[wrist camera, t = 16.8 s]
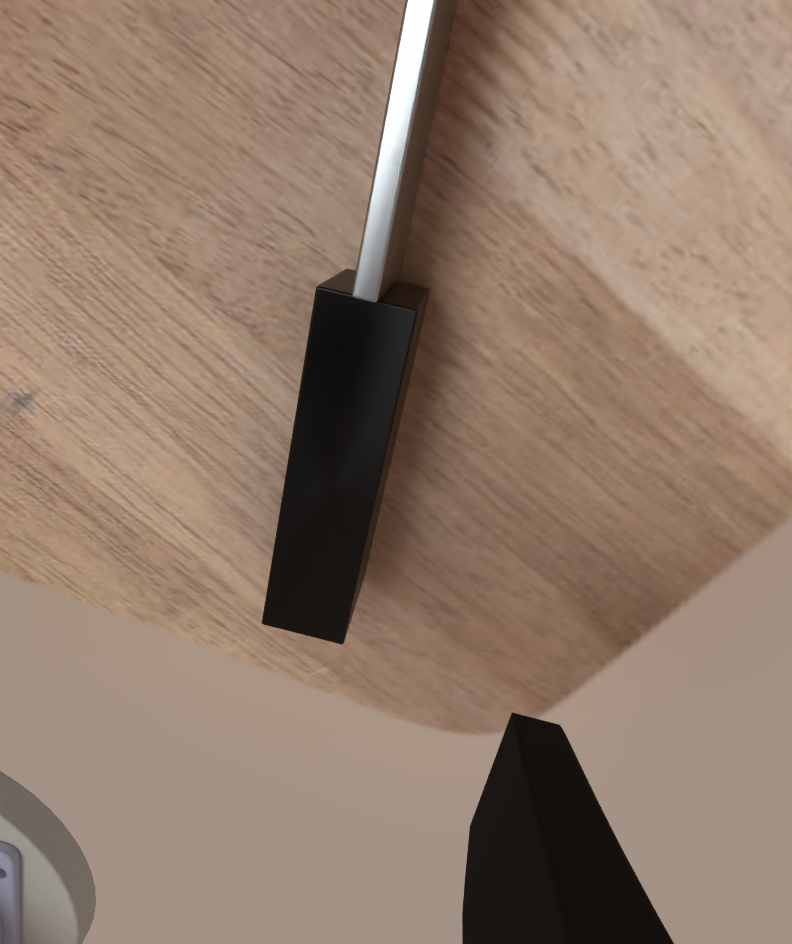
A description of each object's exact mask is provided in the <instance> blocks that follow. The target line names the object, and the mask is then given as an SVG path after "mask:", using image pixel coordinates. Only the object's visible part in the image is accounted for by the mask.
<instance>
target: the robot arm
mask: <svg viewBox="0 0 792 944" xmlns="http://www.w3.org/2000/svg"><path fill="white" fill-rule="evenodd" d="M462 913H463V915H462V917H463V920H462V921H463V944H674V943H673V941H672V939H671V938H670V936H669V934H668V932H667V931H666V929H665V927H664V925H663V924H662V922H661V920H660V918H659V917H658V915H657V913H656V911H655V909H654V908H653V906H652V904H651V902H650V900H649V898H648V896H647V894H646V893H645V891H644V889H643V887H642V885H641V884H640V882H639V880H638V878H637V876H636V874H635V872H634V870H633V869H632V867H631V865H630V863H629V861H628V859H627V858H626V856H625V854H624V852H623V850H622V848H621V846H620V844H619V842H618V840H617V838H616V836H615V834H614V832H613V831H612V829H611V827H610V825H609V823H608V821H607V819H606V817H605V815H604V813H603V811H602V809H601V807H600V805H599V803H598V801H597V799H596V797H595V795H594V792H593V790H592V788H591V786H590V784H589V782H588V780H587V778H586V776H585V774H584V772H583V770H582V768H581V766H580V764H579V762H578V759H577V757H576V755H575V753H574V751H573V749H572V747H571V745H570V743H569V741H568V739H567V737H566V735H565V733H564V731H563V729H562V728H561V726H560V725H558V724H554V723H550V722H546V721H543V720H539V719H535V718H531V717H527V716H523V715H519V714H515V713H512V714H511V717H510V719H509V722H508V725H507V728H506V730H505V733H504V736H503V738H502V741H501V744H500V747H499V749H498V752H497V755H496V757H495V760H494V763H493V766H492V768H491V771H490V774H489V776H488V779H487V782H486V784H485V787H484V790H483V793H482V795H481V798H480V801H479V803H478V806H477V809H476V812H475V814H474V817H473V820H472V822H471V825H470V832H469V843H468V854H467V864H466V875H465V887H464V900H463V912H462ZM0 944H21V899H20V856H19V852H18V851H17V849H16V848H15V847H14V846H12V845H11V844H8V843H5V842H2V841H0Z"/></svg>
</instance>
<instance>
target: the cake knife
mask: <svg viewBox="0 0 792 944" xmlns="http://www.w3.org/2000/svg"><path fill="white" fill-rule="evenodd" d="M456 3H457V0H406V1H405V7H404V12H403V17H402V23H401V28H400V34H399V39H398V45H397V50H396V56H395V61H394V66H393V72H392V77H391V83H390V88H389V94H388V99H387V105H386V110H385V115H384V121H383V126H382V132H381V137H380V143H379V148H378V154H377V159H376V165H375V170H374V175H373V181H372V186H371V192H370V197H369V203H368V208H367V214H366V219H365V224H364V230H363V235H362V241H361V246H360V252H359V257H358V263H357V268H356V271H354V270H350V269H346V270H344V271H342V272H340V273H339V274H337V275H335V276H334V277H332V278H330V279H329V280H327V281H325V282H323V283H322V284H320V285H318V286H317V287H316V292H315V298H314V304H313V311H312V317H311V323H310V329H309V335H308V341H307V348H306V354H305V360H304V366H303V372H302V378H301V385H300V391H299V397H298V403H297V409H296V415H295V422H294V428H293V434H292V440H291V446H290V452H289V459H288V465H287V471H286V477H285V483H284V489H283V496H282V502H281V508H280V514H279V520H278V526H277V532H276V539H275V545H274V551H273V557H272V563H271V569H270V576H269V582H268V588H267V594H266V600H265V606H264V613H263V619H262V624H264V625H268V626H272V627H276V628H280V629H284V630H288V631H291V632H295V633H299V634H303V635H307V636H311V637H315V638H319V639H323V640H327V641H331V642H335V643H339V644H343V643H344V641H345V637H346V634H347V631H348V628H349V625H350V621H351V618H352V615H353V612H354V609H355V605H356V602H357V599H358V596H359V593H360V590H361V586H362V583H363V580H364V576H365V572H366V567H367V563H368V559H369V554H370V550H371V546H372V541H373V537H374V533H375V528H376V524H377V519H378V515H379V511H380V506H381V502H382V498H383V493H384V489H385V484H386V480H387V476H388V471H389V467H390V463H391V458H392V454H393V450H394V445H395V441H396V436H397V432H398V428H399V423H400V419H401V415H402V410H403V406H404V401H405V397H406V393H407V388H408V384H409V380H410V375H411V371H412V366H413V362H414V358H415V353H416V349H417V345H418V340H419V336H420V332H421V327H422V323H423V318H424V314H425V310H426V305H427V301H428V297H429V292H430V289H428V288H425V287H421V286H417V285H413V284H408V283H404V282H400V281H397V280H398V279H399V276H400V271H401V266H402V261H403V256H404V252H405V247H406V242H407V237H408V233H409V228H410V223H411V218H412V213H413V209H414V204H415V199H416V194H417V190H418V185H419V180H420V175H421V170H422V166H423V161H424V156H425V151H426V147H427V142H428V137H429V132H430V127H431V123H432V118H433V113H434V108H435V104H436V99H437V94H438V89H439V84H440V80H441V75H442V70H443V65H444V61H445V56H446V51H447V46H448V42H449V37H450V32H451V27H452V22H453V18H454V13H455V8H456Z"/></svg>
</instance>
